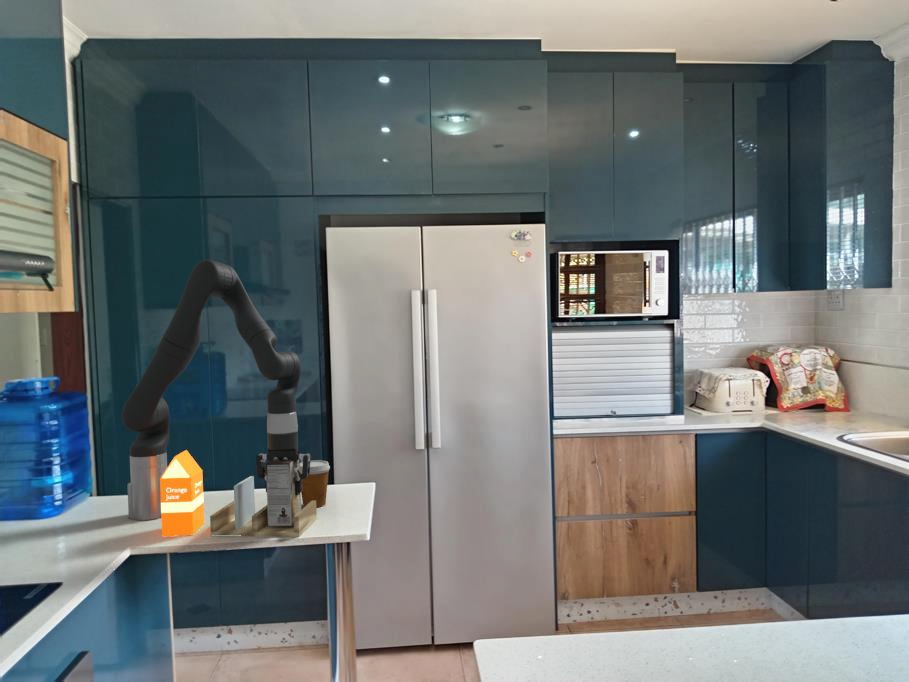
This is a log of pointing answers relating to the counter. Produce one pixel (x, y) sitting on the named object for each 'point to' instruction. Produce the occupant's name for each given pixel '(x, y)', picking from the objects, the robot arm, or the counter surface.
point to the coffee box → (282, 492)
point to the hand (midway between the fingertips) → (284, 494)
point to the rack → (261, 522)
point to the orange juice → (182, 496)
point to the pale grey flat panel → (244, 502)
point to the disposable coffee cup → (315, 483)
